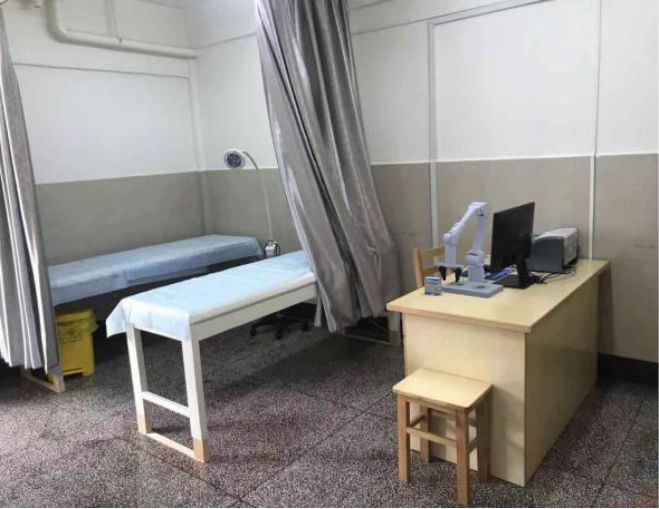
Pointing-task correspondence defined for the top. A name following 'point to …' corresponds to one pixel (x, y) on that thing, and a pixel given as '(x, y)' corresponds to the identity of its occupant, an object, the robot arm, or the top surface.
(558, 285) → the top surface
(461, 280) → the ball
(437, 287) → the medicine box
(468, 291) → the deck
